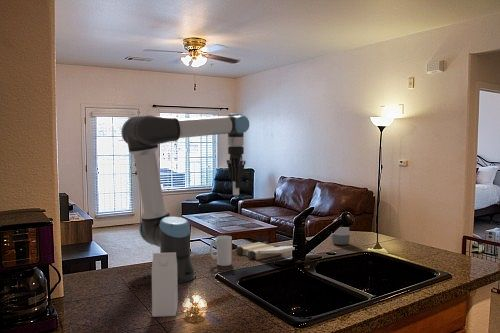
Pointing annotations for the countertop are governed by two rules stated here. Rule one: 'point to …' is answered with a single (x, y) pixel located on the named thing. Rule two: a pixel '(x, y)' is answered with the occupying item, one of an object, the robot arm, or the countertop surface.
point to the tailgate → (278, 249)
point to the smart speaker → (341, 236)
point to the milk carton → (164, 284)
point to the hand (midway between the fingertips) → (235, 194)
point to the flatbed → (256, 250)
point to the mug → (222, 250)
